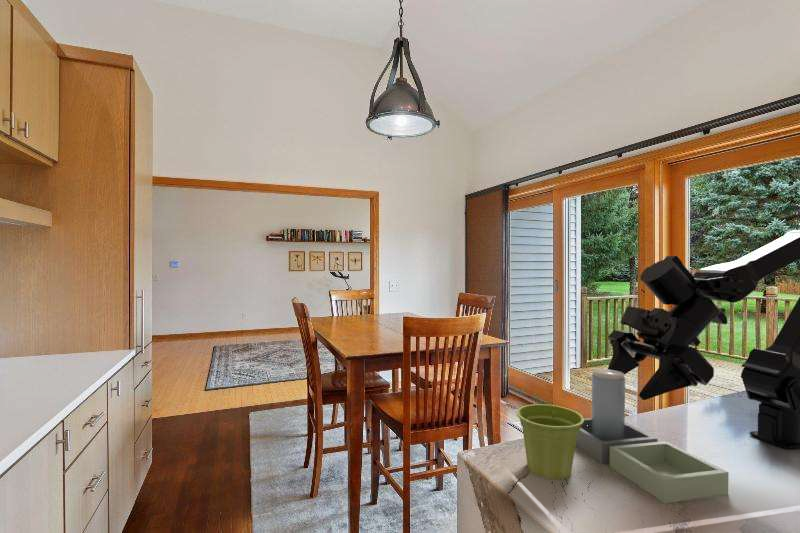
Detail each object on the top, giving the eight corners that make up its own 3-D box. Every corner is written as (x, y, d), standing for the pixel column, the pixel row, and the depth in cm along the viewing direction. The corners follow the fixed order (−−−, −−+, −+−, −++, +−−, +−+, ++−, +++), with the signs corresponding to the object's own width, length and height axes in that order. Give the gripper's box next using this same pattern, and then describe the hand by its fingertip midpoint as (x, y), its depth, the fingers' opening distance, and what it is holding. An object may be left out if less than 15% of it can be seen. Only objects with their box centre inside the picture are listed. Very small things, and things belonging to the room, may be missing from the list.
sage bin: (665, 463, 66) (665, 441, 66) (728, 498, 56) (728, 472, 56) (609, 469, 64) (609, 446, 64) (664, 507, 54) (664, 479, 54)
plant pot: (590, 492, 58) (590, 428, 58) (518, 484, 59) (519, 423, 59) (575, 461, 67) (576, 406, 67) (514, 455, 69) (514, 402, 69)
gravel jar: (610, 439, 74) (610, 368, 74) (631, 451, 69) (632, 375, 69) (585, 441, 73) (585, 369, 73) (604, 454, 68) (605, 377, 68)
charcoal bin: (612, 435, 77) (612, 416, 77) (657, 460, 67) (657, 438, 67) (563, 439, 75) (563, 420, 75) (601, 466, 65) (601, 443, 65)
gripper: (618, 287, 81) (563, 345, 80) (698, 294, 63) (628, 370, 61) (654, 328, 82) (601, 386, 81) (744, 347, 64) (676, 422, 62)
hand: (622, 389), depth 71 cm, fingers open, 9 cm apart
